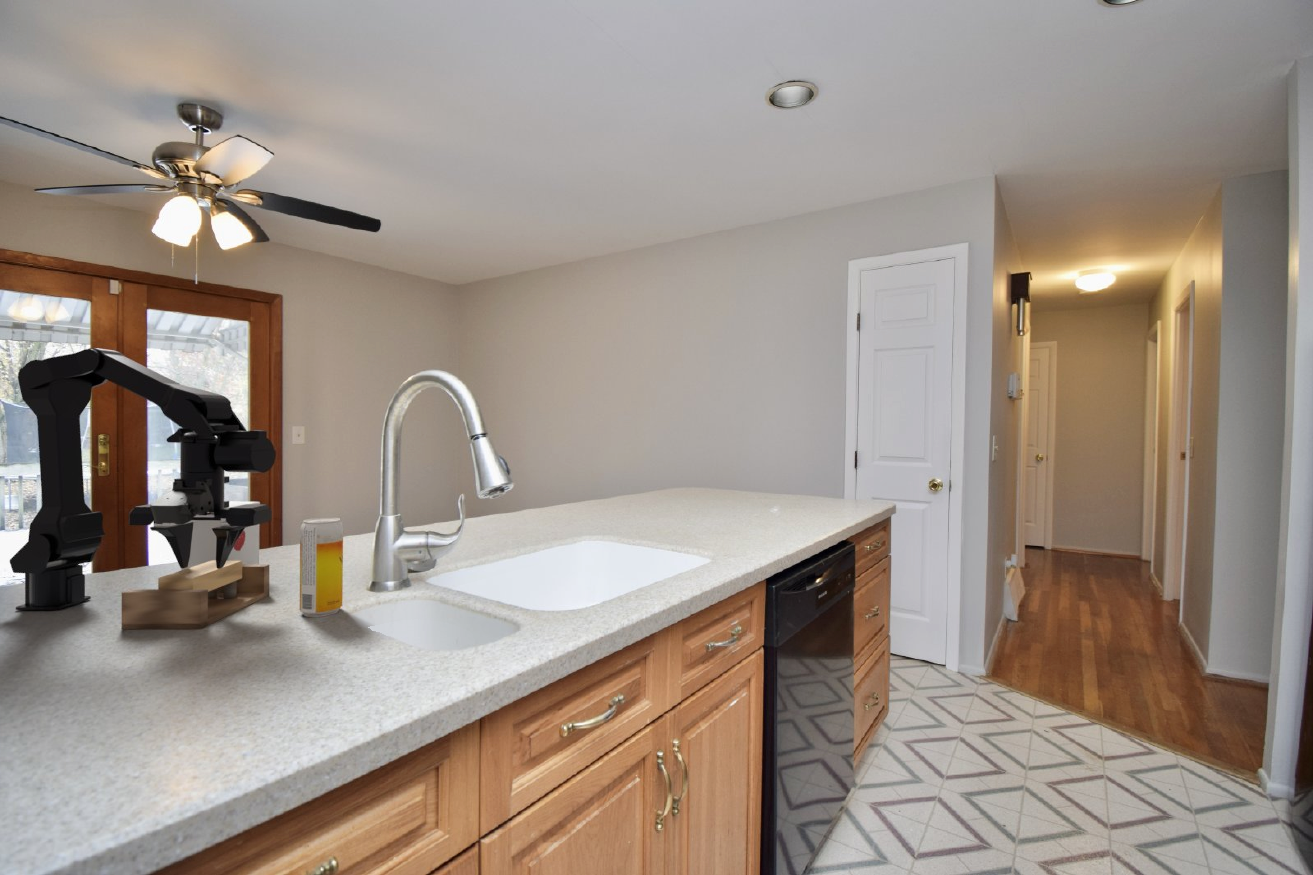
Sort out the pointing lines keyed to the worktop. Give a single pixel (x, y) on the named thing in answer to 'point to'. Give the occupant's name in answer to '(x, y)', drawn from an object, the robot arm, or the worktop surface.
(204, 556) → the supplement box
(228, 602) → the peg frame
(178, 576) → the shelf board
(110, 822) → the worktop surface
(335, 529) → the beer can
